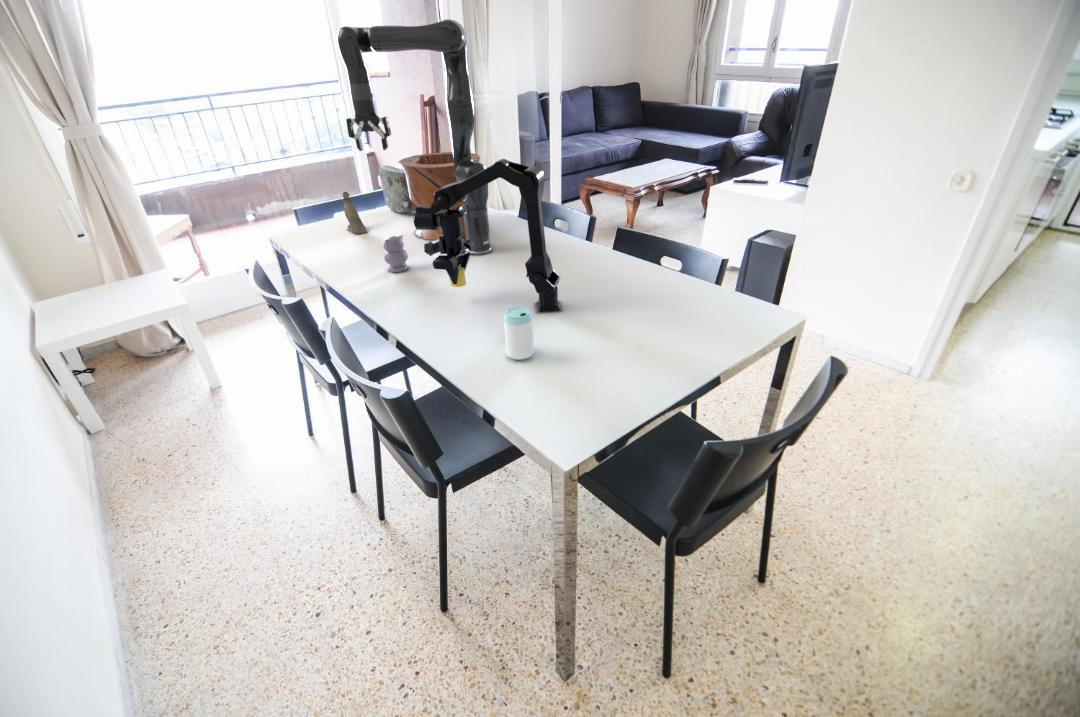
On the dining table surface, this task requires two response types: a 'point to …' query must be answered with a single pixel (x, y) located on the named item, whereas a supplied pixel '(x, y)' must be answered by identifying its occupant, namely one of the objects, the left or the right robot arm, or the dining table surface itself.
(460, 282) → the canister
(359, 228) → the brown carved statuette
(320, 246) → the dining table surface
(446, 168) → the wooden planter
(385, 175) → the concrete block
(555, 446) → the dining table surface
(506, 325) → the can
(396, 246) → the cat figurine
